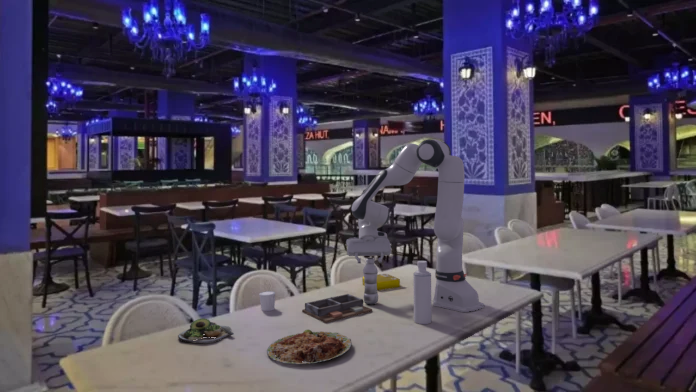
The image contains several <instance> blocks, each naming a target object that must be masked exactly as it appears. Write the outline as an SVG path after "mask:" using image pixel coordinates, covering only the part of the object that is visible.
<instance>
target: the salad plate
mask: <svg viewBox="0 0 696 392" xmlns="http://www.w3.org/2000/svg"><path fill="white" fill-rule="evenodd" d="M203 334H205V335H203ZM233 335H234V332H233V331H232V328H231V326H228V325H220V324H217V323H216V322H212V321H211V320H210V319H208V318H198V319H196V320H194V321H191V323H190V325H189V328H188V329H187V330H184V331H182V332H180V333H178V335H177V338H178V340H180V341H181V340H182V341H181V342H183V341H186V342H185V343H189V342H196V343H195V344H203V343H206V344H211V343H210V342H213V343H216V342H215V341H217V342H219V341H221V340H223V339H224V337H225V338H227V337H228V336H233ZM226 336H227V337H226ZM203 337H210V338H211V337H216V338H215V339H213V338H211V339H210V338H209V339H206V340H205V339H203V340H202V339H201V338H203ZM222 338H223V339H222ZM196 339H201V340H197V341H193V340H196ZM220 339H221V340H220ZM218 340H219V341H218Z"/></svg>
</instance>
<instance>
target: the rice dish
mask: <svg viewBox="0 0 696 392" xmlns="http://www.w3.org/2000/svg"><path fill="white" fill-rule="evenodd" d="M352 346H353V345H352V339H351V338H349V337H347V336H346V335H343V334H341V333H339V332H331V331H313V330H312V329H311V330H310V329H305V330H304V331H303V332H298V333H295V334H290V335H287V336H284V337H282V338H279V339H277V340H275V341H273V342H272V343H271V344H270V345H269V346H268V348H267V350H266V353H267V356H268V357H269V358H270V359H271V360H273V361H275V362H279V363H283V364H293V365H295V364H296V365H302V364H303V365H304V364H305V365H307V364H315V363H320V362H325V361H329V360H331V359H334V358H337V357H340V356H342V355H344V354H345V353H347V352H348V351H349V350H350V349H351V348H352ZM275 355H276V357H277V358H276V357H275ZM279 358H280V359H279ZM302 361H303V362H302ZM309 362H310V363H309Z"/></svg>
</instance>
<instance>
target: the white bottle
mask: <svg viewBox="0 0 696 392" xmlns="http://www.w3.org/2000/svg"><path fill="white" fill-rule="evenodd" d="M416 262H417V270H415V271H414V273H413V321H414V323H415V322H416V323H415V324H418V323H419V324H418V325H429V324H431V323H430V322H432V273H431V272H430V271H429V270H427V267H428V261H427V260H417V261H416ZM428 323H429V324H428Z"/></svg>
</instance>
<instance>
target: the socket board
mask: <svg viewBox="0 0 696 392" xmlns="http://www.w3.org/2000/svg"><path fill="white" fill-rule="evenodd" d="M301 310H302V311H301V312H302V313H304V314H306V315H308V316H310V317H312V318H314V319H316V320H318V321H321V322H322V323H324V324H328V323H331V322H332V323H333V322H336V321H340V320H343V319H347V318H351V317H355V316H360V315H364V314H368V313H372V312H373V309H372V308H370V307H368V306H365V305H364V298H361V297H358V296H354V295H352V294H349V293H346V294H342V295H341V294H340V295H337V296H336V295H335V296H332V297H327V298H323V299H318V300H314V301H309V302H304V309H301Z"/></svg>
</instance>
